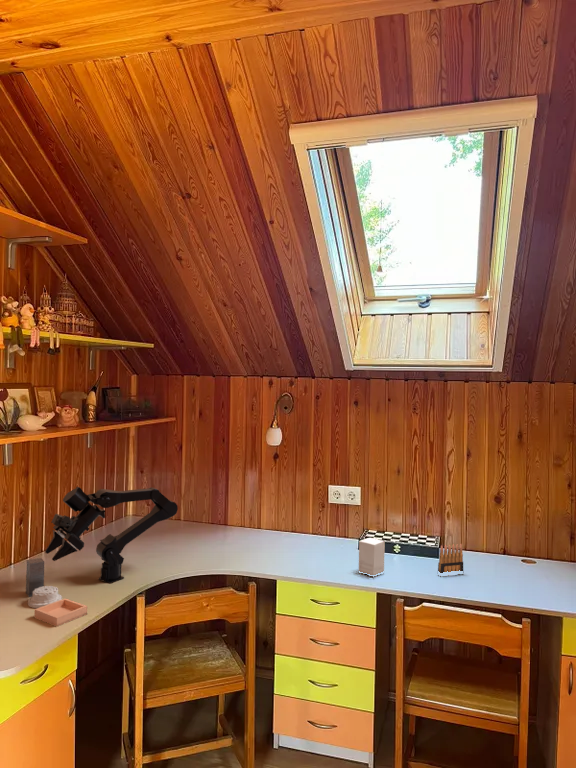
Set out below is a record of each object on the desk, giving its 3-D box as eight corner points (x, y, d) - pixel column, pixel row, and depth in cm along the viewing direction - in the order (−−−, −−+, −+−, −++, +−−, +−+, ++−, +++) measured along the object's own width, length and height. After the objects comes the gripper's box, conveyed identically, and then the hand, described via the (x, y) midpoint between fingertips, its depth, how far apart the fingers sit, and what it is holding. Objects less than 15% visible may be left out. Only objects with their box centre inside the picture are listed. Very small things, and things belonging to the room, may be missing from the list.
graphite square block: (40, 590, 188) (41, 557, 188) (43, 594, 185) (44, 561, 185) (25, 592, 186) (26, 560, 186) (28, 597, 182) (29, 563, 182)
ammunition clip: (460, 573, 219) (461, 542, 219) (463, 574, 217) (464, 544, 217) (437, 575, 216) (438, 544, 215) (440, 577, 214) (441, 545, 214)
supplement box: (384, 573, 216) (385, 541, 216) (373, 578, 210) (374, 544, 210) (369, 568, 221) (370, 537, 221) (357, 573, 216) (358, 540, 215)
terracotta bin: (64, 606, 176) (65, 598, 176) (87, 614, 170) (87, 606, 170) (34, 617, 167) (34, 609, 167) (56, 626, 161) (57, 618, 161)
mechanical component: (24, 601, 179) (31, 611, 171) (25, 587, 179) (32, 597, 171) (57, 594, 185) (65, 605, 177) (57, 581, 185) (65, 591, 177)
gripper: (60, 500, 198) (25, 535, 192) (75, 510, 183) (38, 549, 177) (81, 519, 203) (49, 554, 196) (98, 531, 188) (63, 569, 182)
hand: (49, 556), depth 188 cm, fingers open, 9 cm apart
